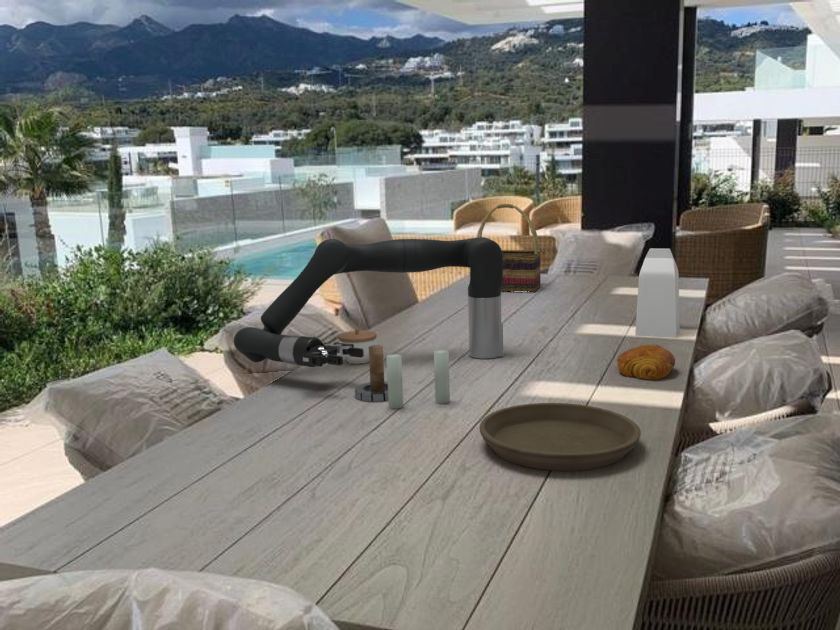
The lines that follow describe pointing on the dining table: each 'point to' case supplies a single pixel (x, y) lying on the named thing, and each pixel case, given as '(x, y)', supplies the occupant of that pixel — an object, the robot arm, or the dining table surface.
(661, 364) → the croissant
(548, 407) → the plant saucer
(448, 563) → the dining table surface
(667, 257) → the milk
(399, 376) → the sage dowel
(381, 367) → the walnut dowel
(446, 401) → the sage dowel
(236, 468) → the dining table surface
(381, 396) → the ring
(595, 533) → the dining table surface
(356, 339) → the lidded jar
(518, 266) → the basket
